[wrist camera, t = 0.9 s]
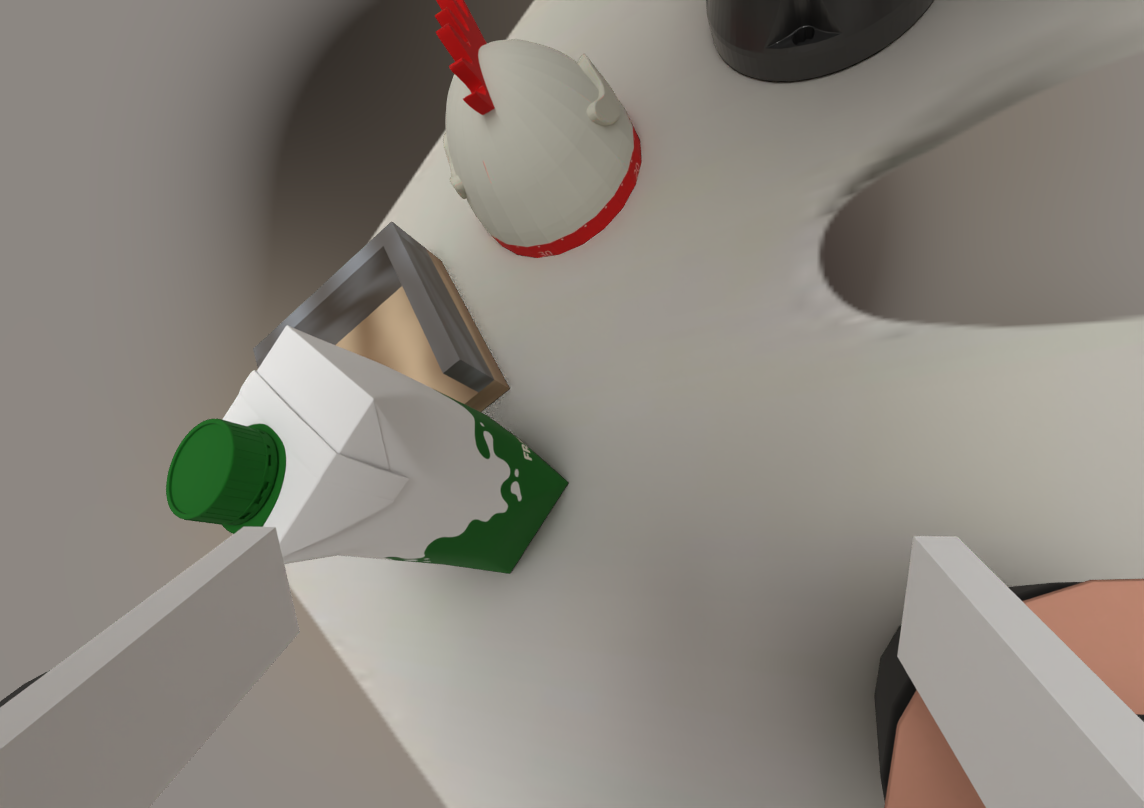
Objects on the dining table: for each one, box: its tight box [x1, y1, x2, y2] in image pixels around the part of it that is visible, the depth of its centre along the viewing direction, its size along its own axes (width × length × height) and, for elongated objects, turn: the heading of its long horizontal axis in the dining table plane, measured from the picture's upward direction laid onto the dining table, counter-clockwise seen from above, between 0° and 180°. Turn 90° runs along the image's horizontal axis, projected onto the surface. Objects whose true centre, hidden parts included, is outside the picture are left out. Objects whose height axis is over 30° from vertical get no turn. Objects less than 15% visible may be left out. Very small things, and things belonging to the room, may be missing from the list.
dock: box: [253, 222, 510, 412], centre depth 44 cm, size 16×15×6 cm
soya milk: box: [166, 325, 568, 574], centre depth 31 cm, size 9×9×20 cm
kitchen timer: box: [435, 0, 641, 258], centre depth 39 cm, size 14×14×15 cm
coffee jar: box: [875, 579, 1144, 808], centre depth 17 cm, size 11×11×18 cm
